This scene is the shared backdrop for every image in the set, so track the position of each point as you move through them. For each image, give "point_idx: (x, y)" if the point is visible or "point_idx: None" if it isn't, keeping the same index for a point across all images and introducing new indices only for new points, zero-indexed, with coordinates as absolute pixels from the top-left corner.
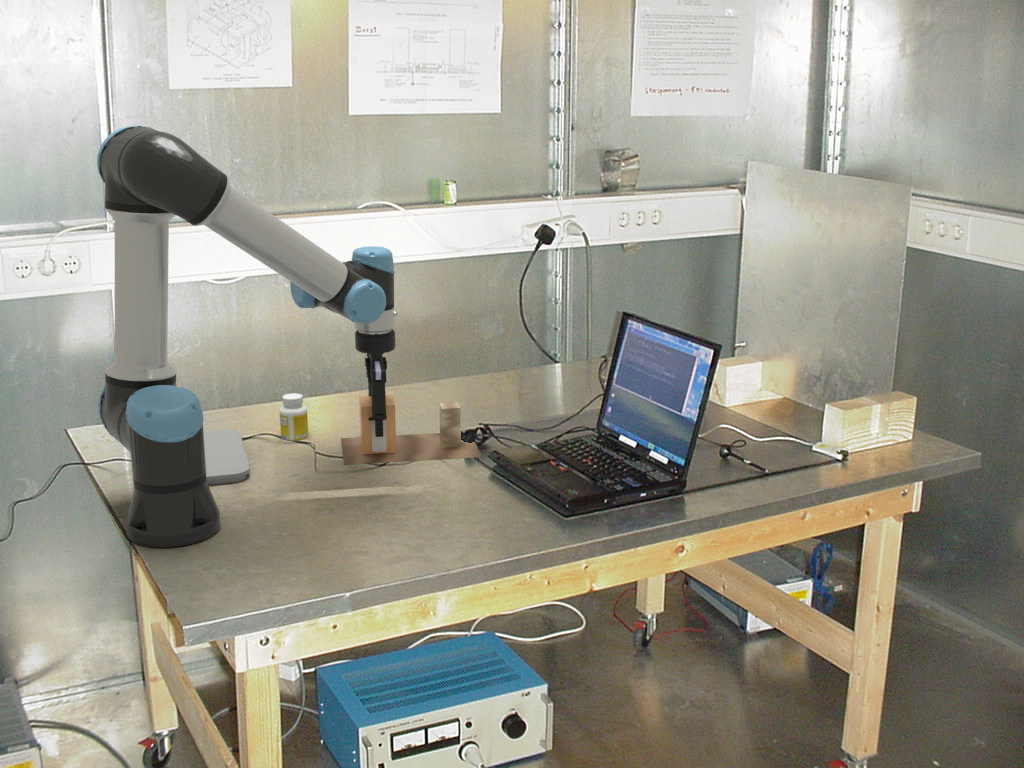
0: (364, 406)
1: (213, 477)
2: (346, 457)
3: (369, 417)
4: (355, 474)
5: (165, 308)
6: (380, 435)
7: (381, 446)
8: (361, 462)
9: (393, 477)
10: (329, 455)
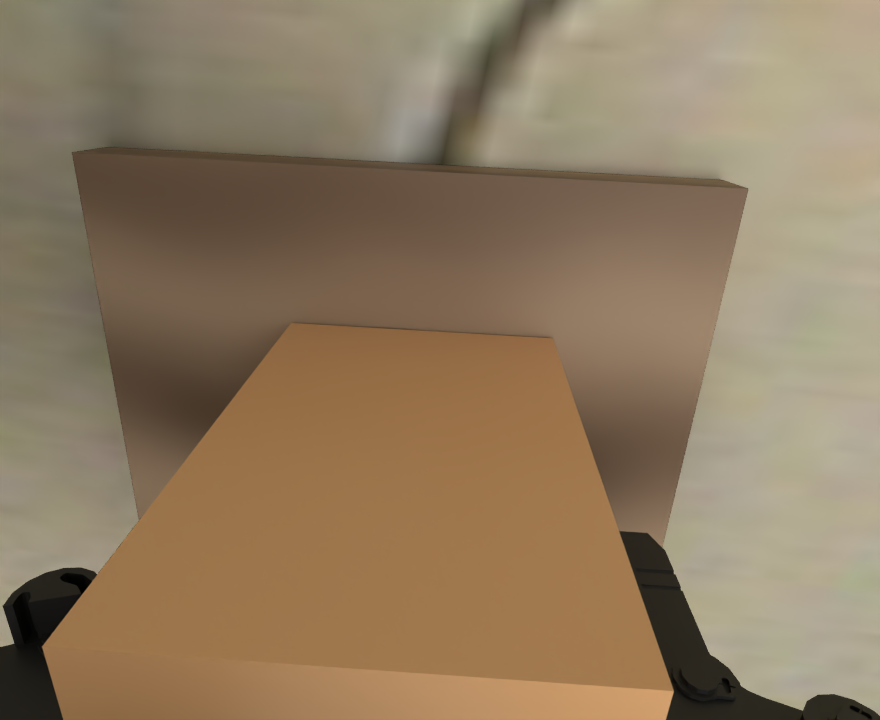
0: (55, 691)
1: None
2: (243, 190)
3: (9, 614)
4: (70, 225)
5: None
6: None
7: None
8: (126, 295)
9: (27, 446)
10: (511, 56)
